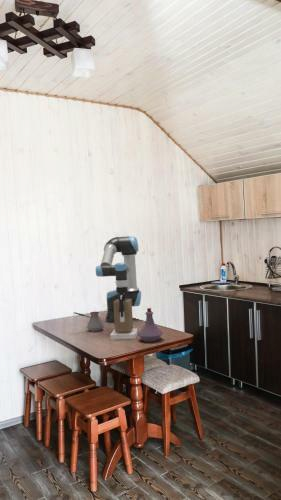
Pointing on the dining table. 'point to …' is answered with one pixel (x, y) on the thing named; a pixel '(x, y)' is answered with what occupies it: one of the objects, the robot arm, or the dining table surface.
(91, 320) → the coffee pot
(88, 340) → the dining table surface
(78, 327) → the dining table surface
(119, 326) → the wooden block
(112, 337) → the white square plate
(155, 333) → the flask
